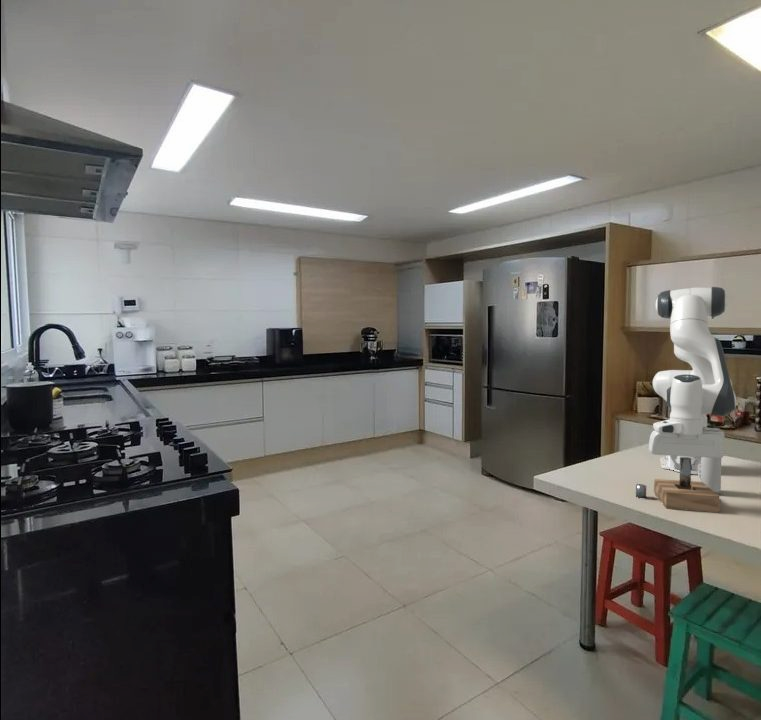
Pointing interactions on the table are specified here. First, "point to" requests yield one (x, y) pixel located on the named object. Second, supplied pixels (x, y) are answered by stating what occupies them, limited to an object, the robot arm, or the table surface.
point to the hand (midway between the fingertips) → (685, 469)
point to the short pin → (640, 491)
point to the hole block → (686, 495)
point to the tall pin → (685, 472)
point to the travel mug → (710, 473)
